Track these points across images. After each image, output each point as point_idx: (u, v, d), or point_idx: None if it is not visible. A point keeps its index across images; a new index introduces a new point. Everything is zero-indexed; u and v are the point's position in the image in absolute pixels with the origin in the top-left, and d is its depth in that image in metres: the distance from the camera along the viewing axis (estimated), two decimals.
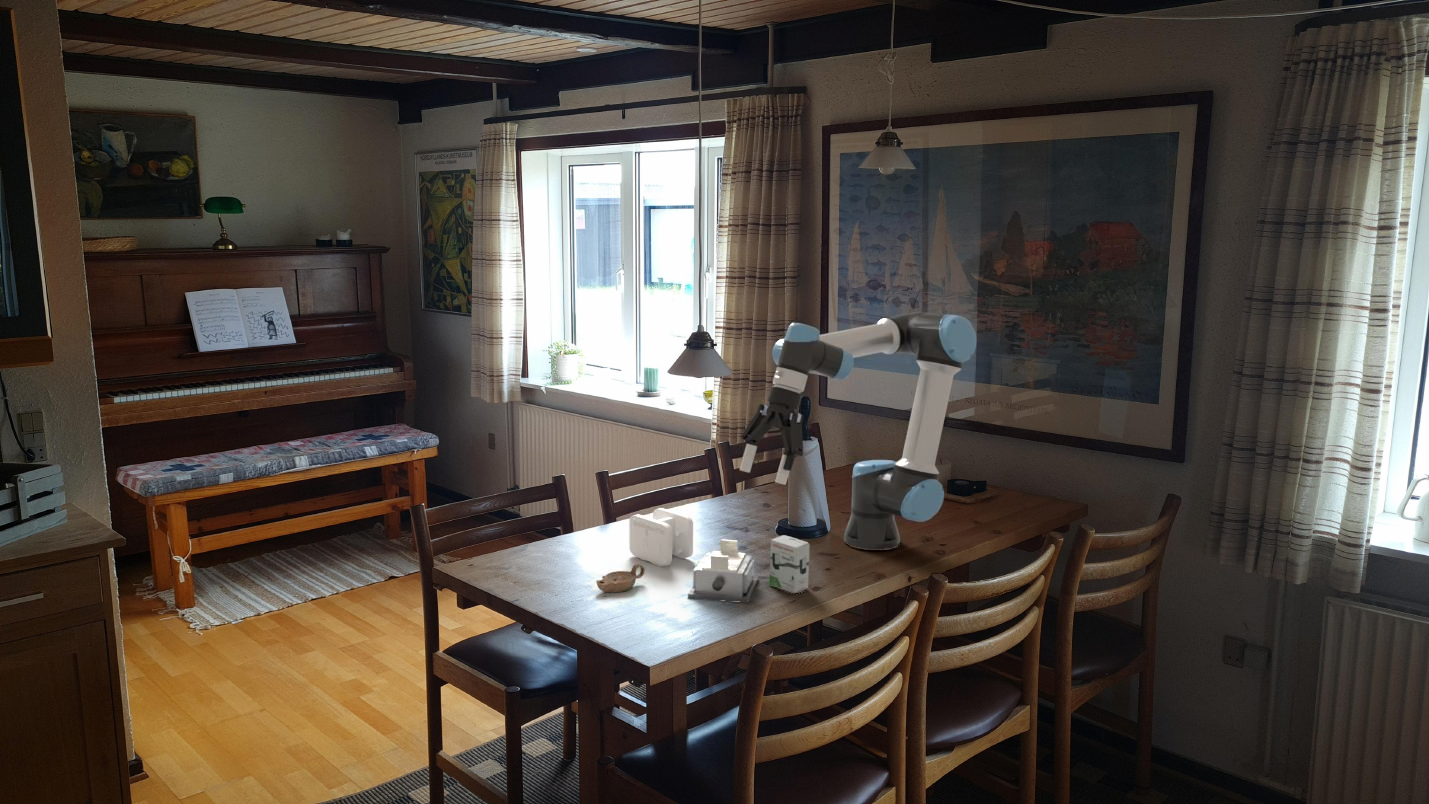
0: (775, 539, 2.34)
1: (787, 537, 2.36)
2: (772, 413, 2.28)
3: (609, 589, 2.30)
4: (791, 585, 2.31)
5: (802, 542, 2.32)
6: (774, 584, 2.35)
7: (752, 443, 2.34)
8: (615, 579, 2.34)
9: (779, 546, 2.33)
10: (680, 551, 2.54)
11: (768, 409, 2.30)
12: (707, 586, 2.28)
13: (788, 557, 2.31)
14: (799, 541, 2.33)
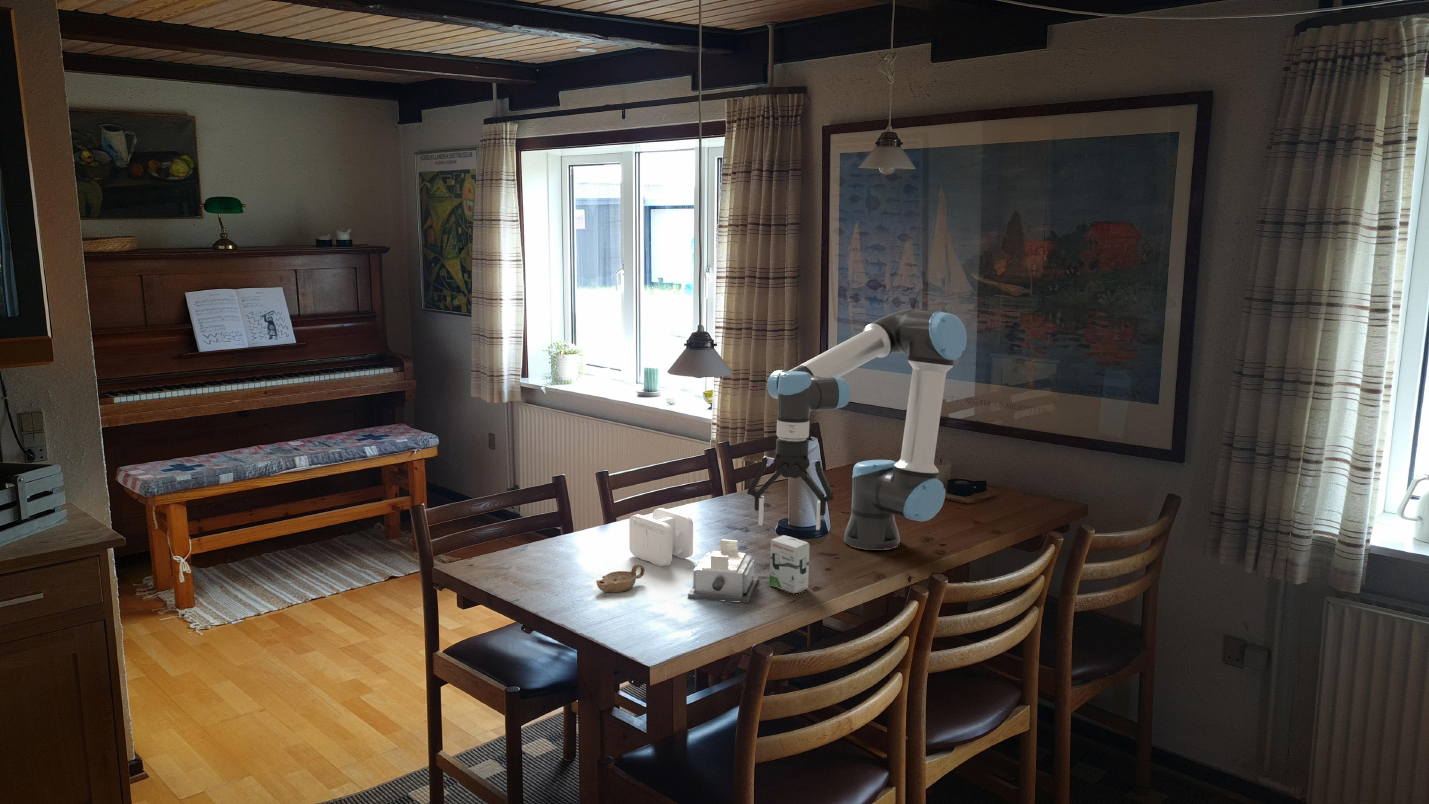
0: (775, 539, 2.34)
1: (787, 537, 2.36)
2: (787, 465, 2.29)
3: (609, 589, 2.30)
4: (791, 585, 2.31)
5: (802, 542, 2.32)
6: (774, 584, 2.35)
7: None
8: (615, 579, 2.34)
9: (779, 546, 2.33)
10: (680, 551, 2.54)
11: (777, 461, 2.29)
12: (707, 586, 2.28)
13: (788, 557, 2.31)
14: (799, 541, 2.33)
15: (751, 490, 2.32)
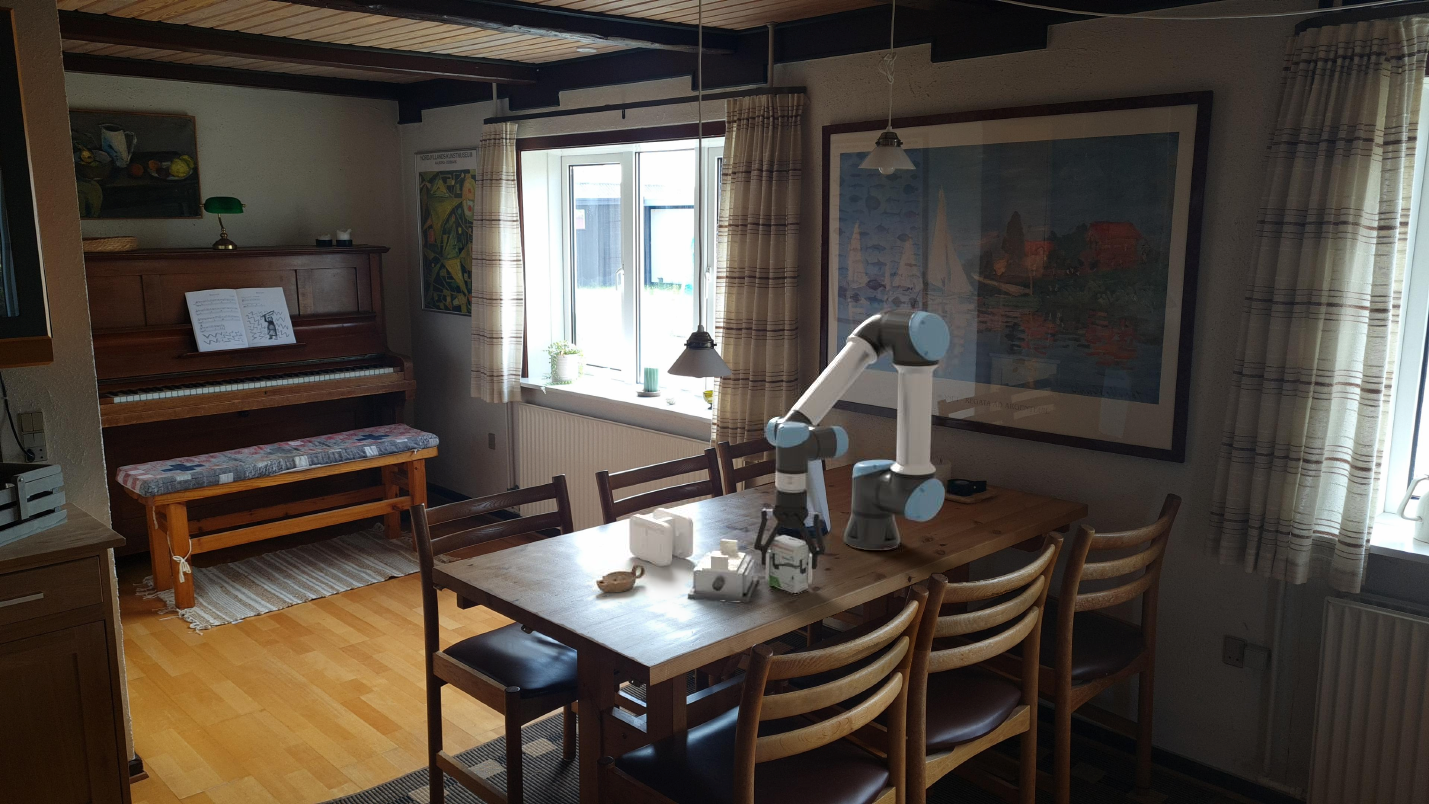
0: (775, 539, 2.34)
1: (787, 537, 2.36)
2: (786, 515, 2.31)
3: (609, 589, 2.30)
4: (791, 585, 2.31)
5: (802, 542, 2.32)
6: (774, 584, 2.35)
7: None
8: (615, 579, 2.34)
9: (778, 546, 2.33)
10: (680, 551, 2.54)
11: (776, 512, 2.32)
12: (707, 586, 2.28)
13: (788, 557, 2.31)
14: (799, 541, 2.33)
15: (757, 545, 2.34)
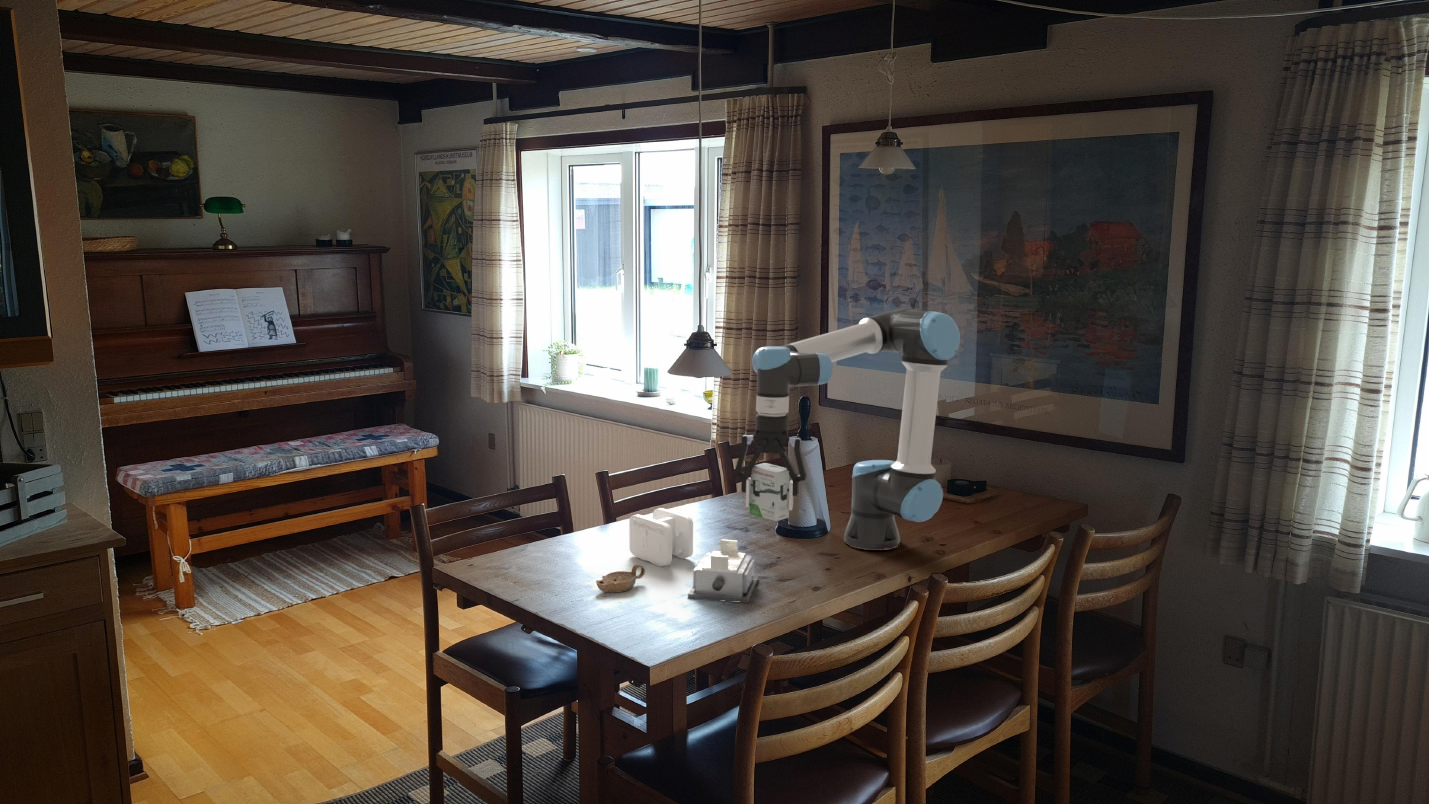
0: (755, 466, 2.31)
1: (768, 464, 2.32)
2: (767, 441, 2.27)
3: (609, 589, 2.30)
4: (771, 511, 2.28)
5: (783, 468, 2.29)
6: (754, 512, 2.31)
7: (747, 476, 2.31)
8: (615, 579, 2.34)
9: (759, 472, 2.29)
10: (680, 551, 2.54)
11: (757, 437, 2.28)
12: (707, 586, 2.28)
13: (768, 483, 2.27)
14: (780, 467, 2.30)
15: (737, 471, 2.30)
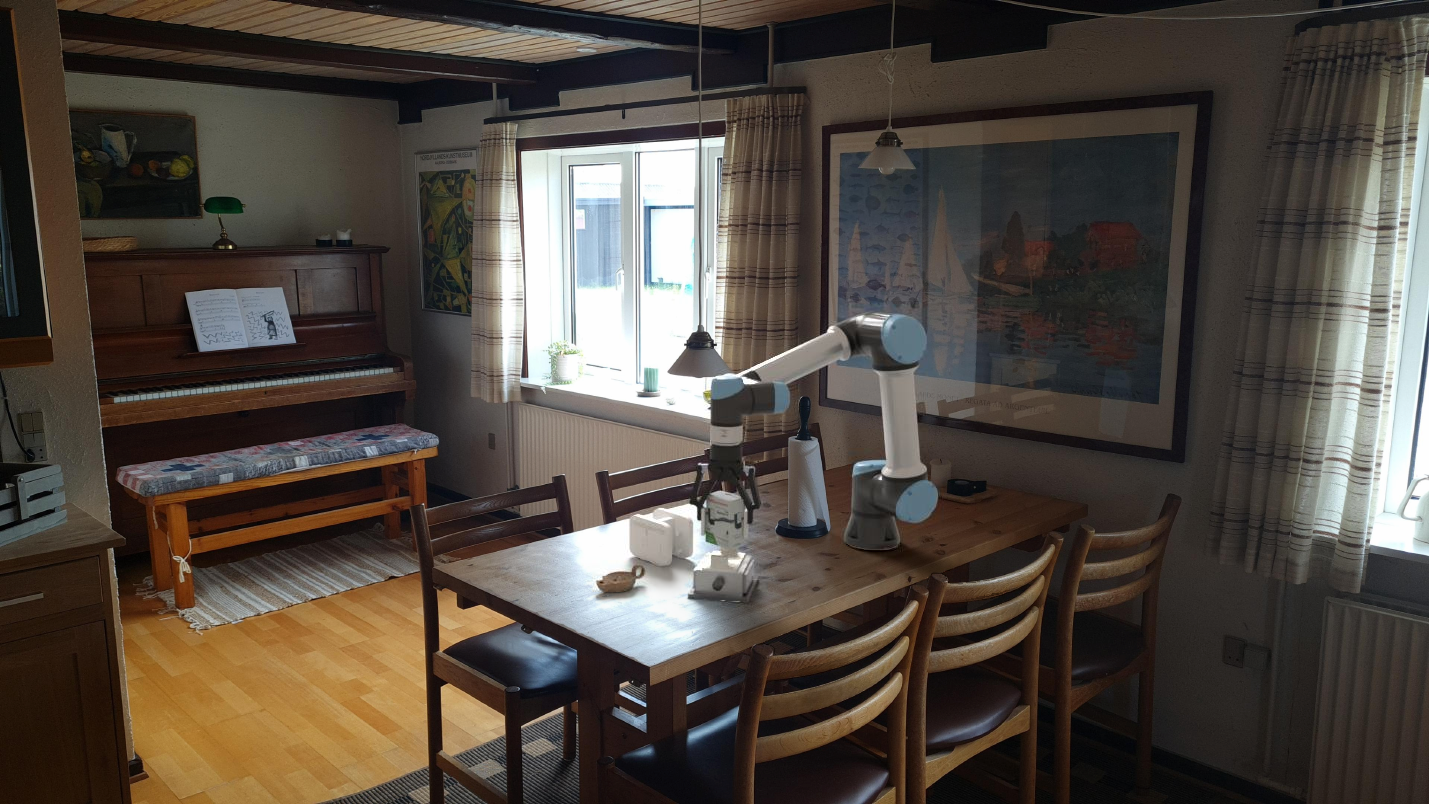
0: (710, 494, 2.31)
1: (723, 492, 2.33)
2: (721, 469, 2.28)
3: (609, 589, 2.30)
4: (725, 540, 2.28)
5: (737, 497, 2.29)
6: (710, 540, 2.32)
7: None
8: (615, 579, 2.34)
9: (714, 501, 2.30)
10: (680, 551, 2.54)
11: (711, 466, 2.29)
12: (707, 586, 2.28)
13: (723, 512, 2.28)
14: (735, 495, 2.30)
15: (693, 500, 2.31)
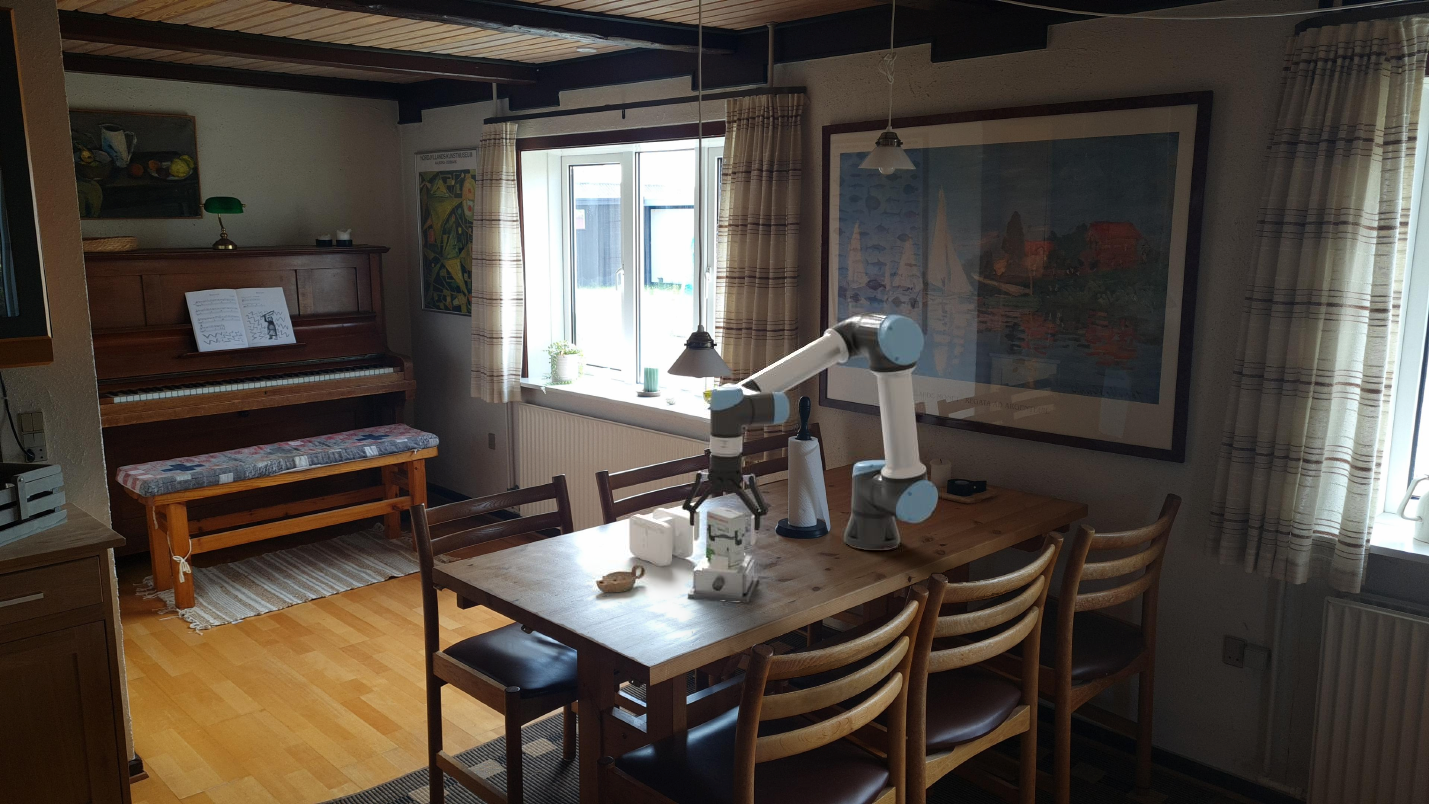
0: (711, 510, 2.32)
1: (724, 509, 2.33)
2: (721, 481, 2.28)
3: (609, 589, 2.30)
4: None
5: (738, 513, 2.30)
6: (710, 556, 2.33)
7: (695, 510, 2.33)
8: (615, 579, 2.34)
9: (714, 517, 2.30)
10: (680, 551, 2.54)
11: (711, 476, 2.29)
12: (707, 586, 2.28)
13: (723, 528, 2.29)
14: (735, 512, 2.31)
15: (686, 505, 2.31)
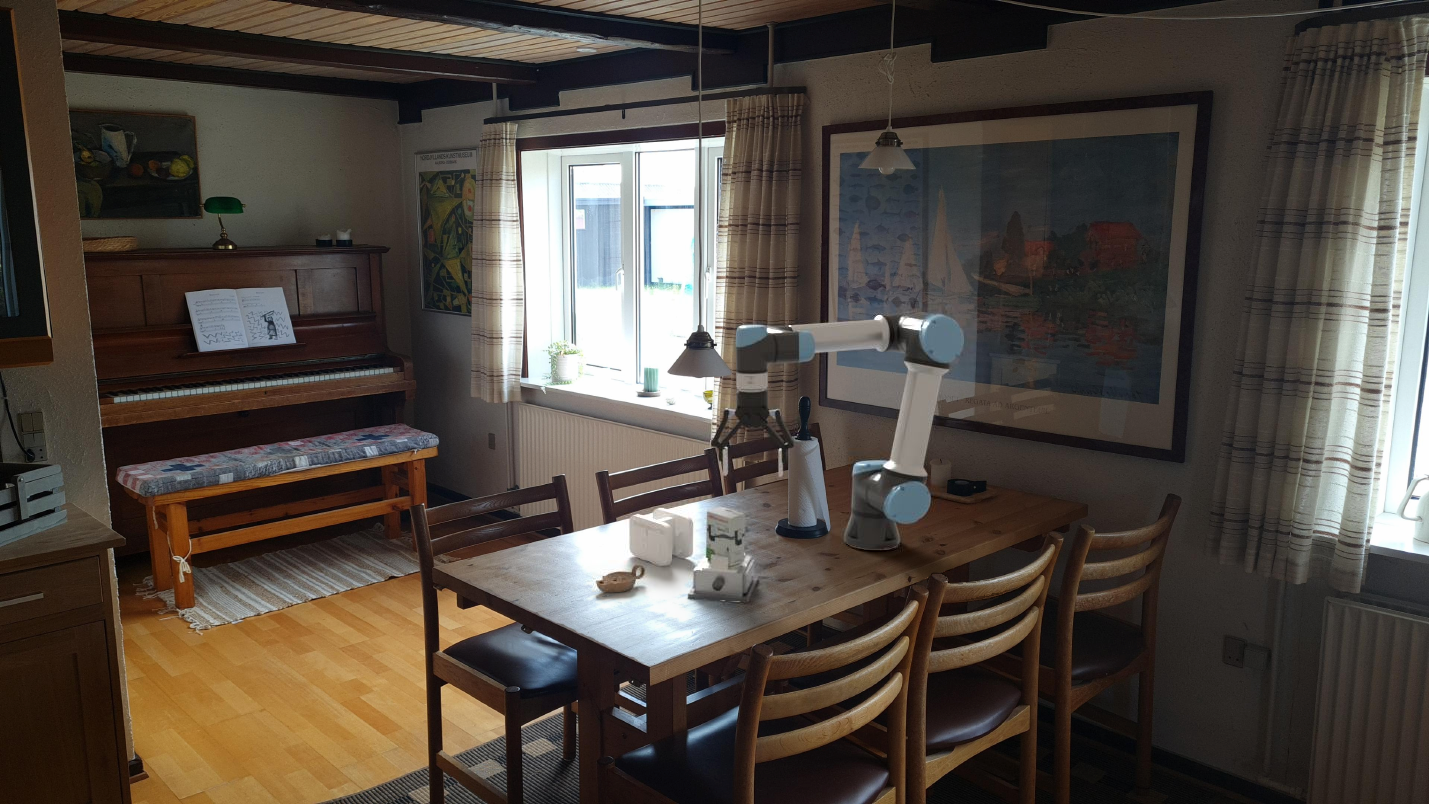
0: (711, 510, 2.32)
1: (724, 509, 2.33)
2: None
3: (609, 589, 2.30)
4: None
5: (738, 513, 2.30)
6: (710, 556, 2.33)
7: (723, 446, 2.41)
8: (615, 579, 2.34)
9: (714, 517, 2.30)
10: (680, 551, 2.54)
11: (738, 413, 2.37)
12: (707, 586, 2.28)
13: (723, 528, 2.29)
14: (735, 512, 2.31)
15: (714, 442, 2.39)
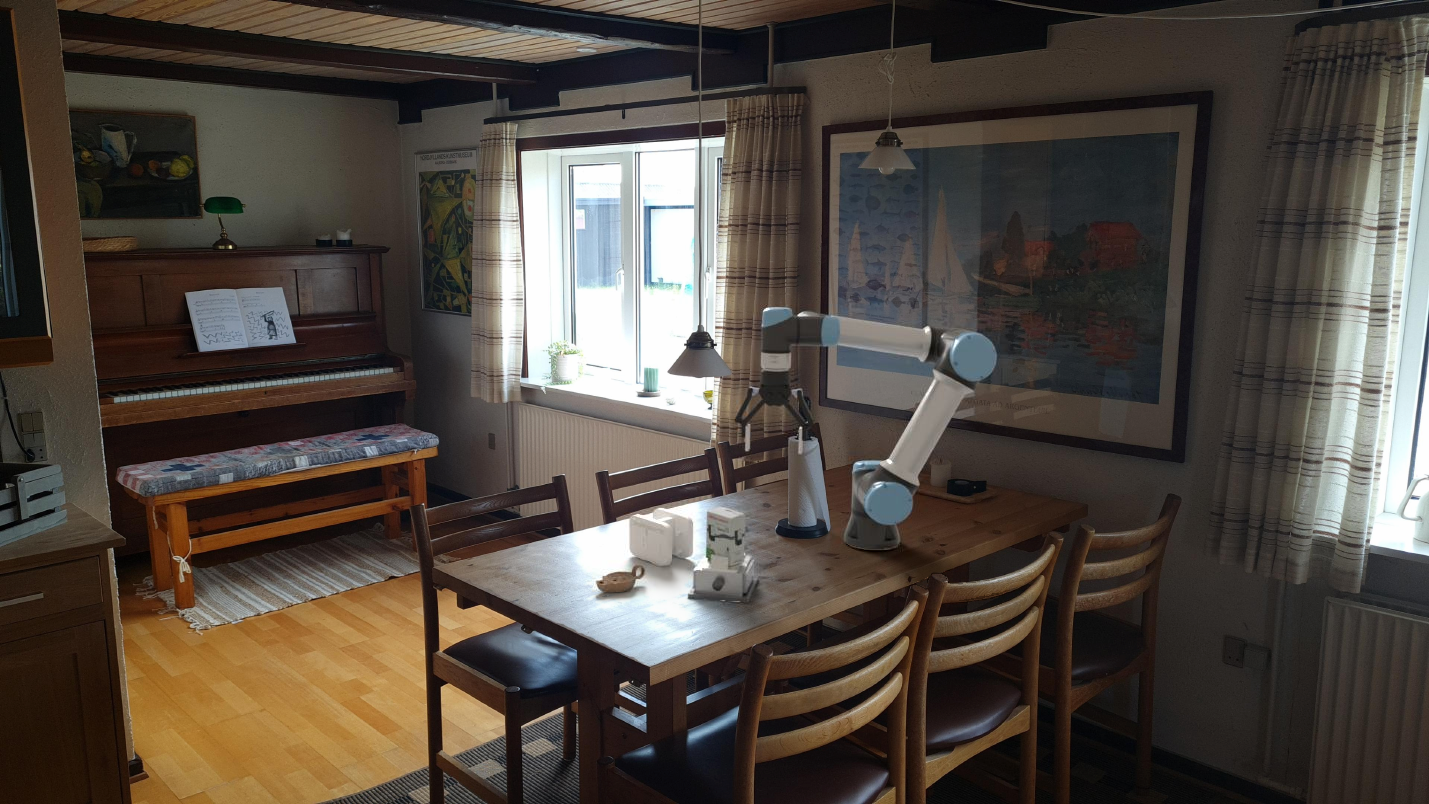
0: (711, 510, 2.32)
1: (724, 509, 2.33)
2: (771, 394, 2.47)
3: (609, 589, 2.29)
4: None
5: (738, 513, 2.30)
6: (710, 556, 2.33)
7: (746, 423, 2.51)
8: (615, 579, 2.34)
9: (714, 517, 2.30)
10: (680, 551, 2.54)
11: (762, 391, 2.48)
12: (707, 586, 2.28)
13: (723, 528, 2.29)
14: (735, 512, 2.31)
15: (738, 418, 2.50)
